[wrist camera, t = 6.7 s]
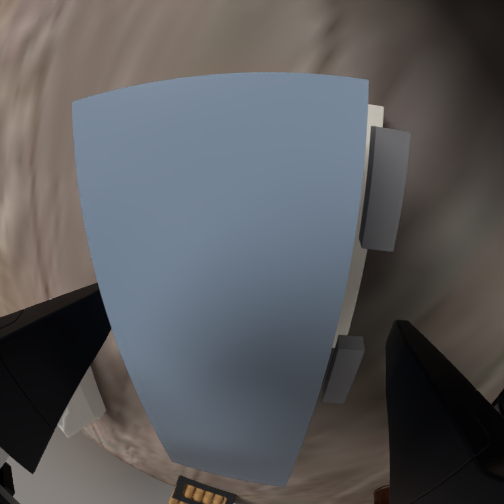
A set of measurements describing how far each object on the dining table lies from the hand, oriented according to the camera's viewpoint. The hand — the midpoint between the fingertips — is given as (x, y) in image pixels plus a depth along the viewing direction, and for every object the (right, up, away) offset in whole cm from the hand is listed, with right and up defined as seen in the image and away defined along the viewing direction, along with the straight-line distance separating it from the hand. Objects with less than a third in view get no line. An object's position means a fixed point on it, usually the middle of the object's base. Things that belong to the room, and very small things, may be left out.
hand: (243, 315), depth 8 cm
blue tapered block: (0, +1, +2) cm, 2 cm away
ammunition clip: (-8, -40, +30) cm, 50 cm away
